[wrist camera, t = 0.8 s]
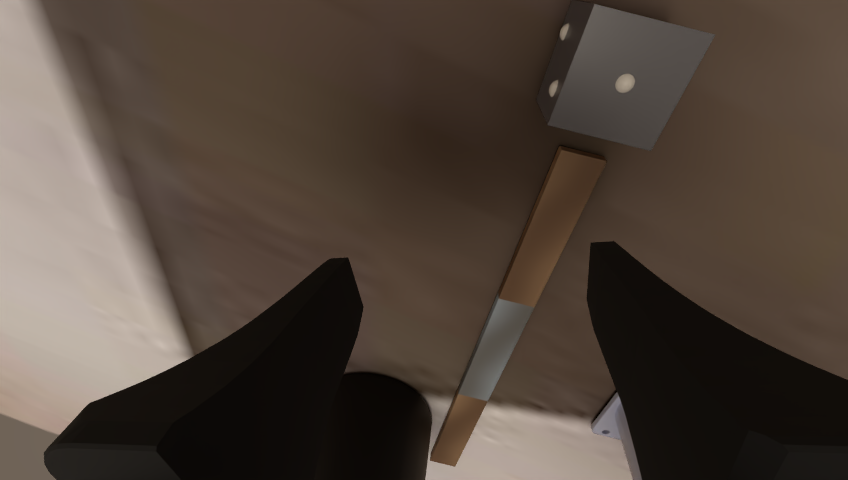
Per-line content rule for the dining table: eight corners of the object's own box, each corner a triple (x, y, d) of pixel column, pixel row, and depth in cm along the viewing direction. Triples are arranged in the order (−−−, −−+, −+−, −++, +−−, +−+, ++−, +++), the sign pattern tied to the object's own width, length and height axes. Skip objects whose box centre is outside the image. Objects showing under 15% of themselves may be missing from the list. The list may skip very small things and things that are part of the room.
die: (667, 23, 16) (718, 35, 13) (620, 120, 18) (652, 153, 15) (566, -2, 16) (590, 2, 13) (531, 98, 18) (543, 125, 15)
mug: (325, 334, 29) (268, 462, 21) (456, 411, 31) (448, 548, 24) (271, 394, 33) (208, 515, 26) (389, 456, 36) (365, 582, 29)
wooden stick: (603, 156, 19) (607, 161, 19) (455, 459, 35) (455, 466, 34) (559, 145, 19) (561, 149, 19) (430, 453, 35) (430, 460, 34)
